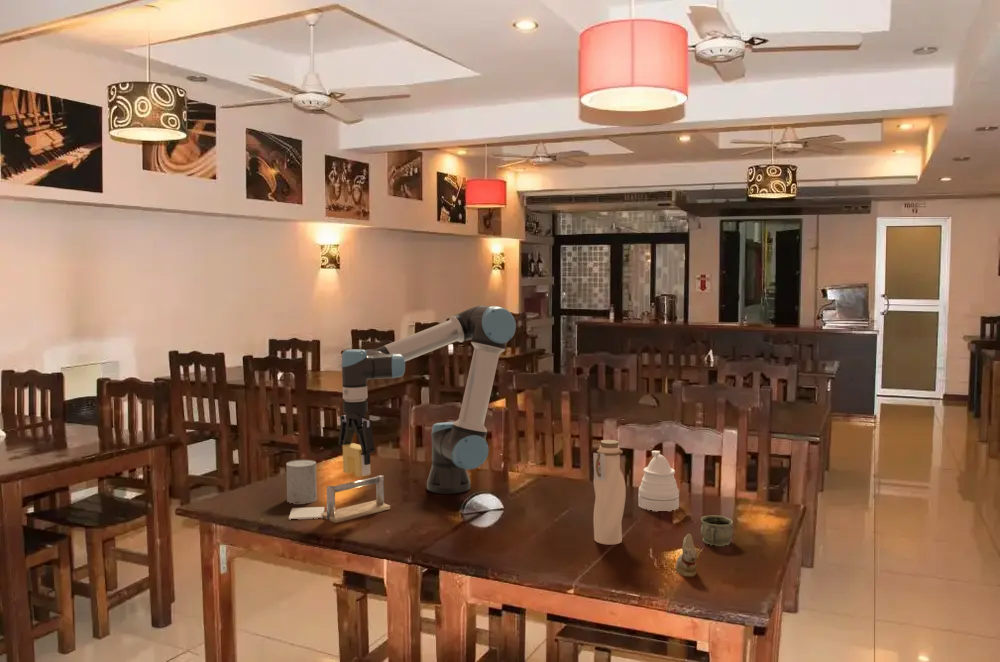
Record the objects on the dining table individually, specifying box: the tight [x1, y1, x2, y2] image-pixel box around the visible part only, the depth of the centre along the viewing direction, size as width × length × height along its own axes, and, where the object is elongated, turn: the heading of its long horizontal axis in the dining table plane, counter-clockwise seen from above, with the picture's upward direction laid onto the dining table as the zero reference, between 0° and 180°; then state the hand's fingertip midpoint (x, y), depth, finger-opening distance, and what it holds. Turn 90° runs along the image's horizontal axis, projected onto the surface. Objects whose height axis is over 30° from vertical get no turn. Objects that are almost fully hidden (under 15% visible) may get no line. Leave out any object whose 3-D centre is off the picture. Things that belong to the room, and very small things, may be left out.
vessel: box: [700, 515, 734, 547], centre depth 220 cm, size 12×9×6 cm
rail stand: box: [321, 474, 391, 524], centre depth 245 cm, size 20×8×10 cm, turn 134°
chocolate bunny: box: [675, 533, 698, 578], centre depth 198 cm, size 6×8×10 cm
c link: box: [342, 442, 372, 478], centre depth 244 cm, size 9×4×8 cm, turn 44°
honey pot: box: [637, 450, 680, 512], centre depth 254 cm, size 13×13×18 cm
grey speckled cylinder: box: [286, 459, 318, 505], centre depth 259 cm, size 10×10×12 cm
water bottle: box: [592, 439, 627, 545], centre depth 220 cm, size 10×9×28 cm
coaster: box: [288, 506, 325, 521], centre depth 244 cm, size 10×10×1 cm
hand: (356, 471), depth 245 cm, fingers closed on c link, 9 cm apart
